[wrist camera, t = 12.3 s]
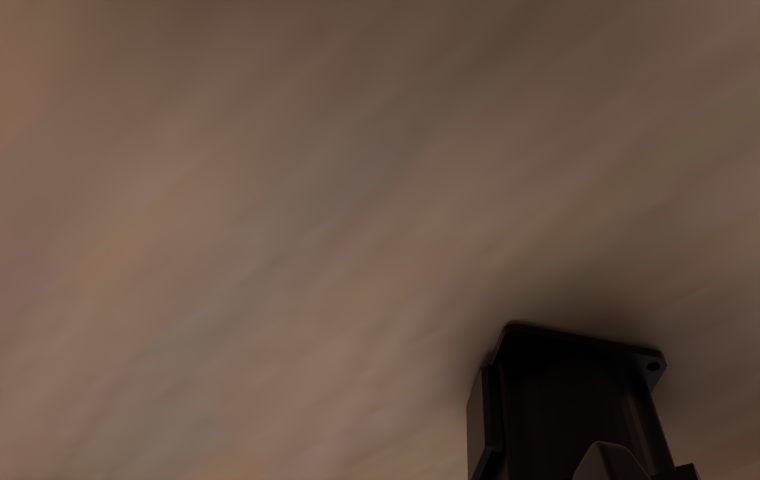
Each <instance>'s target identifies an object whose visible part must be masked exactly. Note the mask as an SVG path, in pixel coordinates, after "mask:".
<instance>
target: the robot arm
mask: <svg viewBox="0 0 760 480" xmlns="http://www.w3.org/2000/svg"><path fill="white" fill-rule="evenodd" d="M512 336H519V337H517V338H512ZM651 362H655V363H652V364H649V363H651ZM666 367H667V364H666V361H665V358H664V356H663V354H662V353H661V352H659V351H656V350H652V349H646V348H641V347H636V346H631V345H625V344H620V343H615V342H610V341H604V340H599V339H594V338H589V337H583V336H578V335H573V334H568V333H562V332H557V331H552V330H547V329H541V328H536V327H531V326H526V325H520V324H511V325H508V326H506V327H505V328H504V329H503V331H502V333H501V335H500V338H499V341H498V343H497V346H496V348H495V351H494V354H493V356H492V359H491V361H490V364H485V365H484V366H482V367H481V368H480V371H479V373H478V376H477V379H476V381H475V384H474V387H473V389H472V392H471V395H470V397H469V400H468V402H467V406H466V410H467V454H468V480H701V479H700V477H699V474H698V472H697V470H696V468H695V466H694V464H693V463H690V464H686V465H682V466H677V467H676V468H675V465H674V462H673V459H672V456H671V453H670V450H669V447H668V444H667V441H666V438H665V435H664V432H663V429H662V426H661V423H660V420H659V417H658V414H657V411H656V408H655V405H654V402H653V399H652V396H651V391H652V390H653V388H654V387H655V385H656V384H657V382H658V380H659V379H660V377H661V376H662V374H663V372H664V371H665V369H666Z"/></svg>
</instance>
